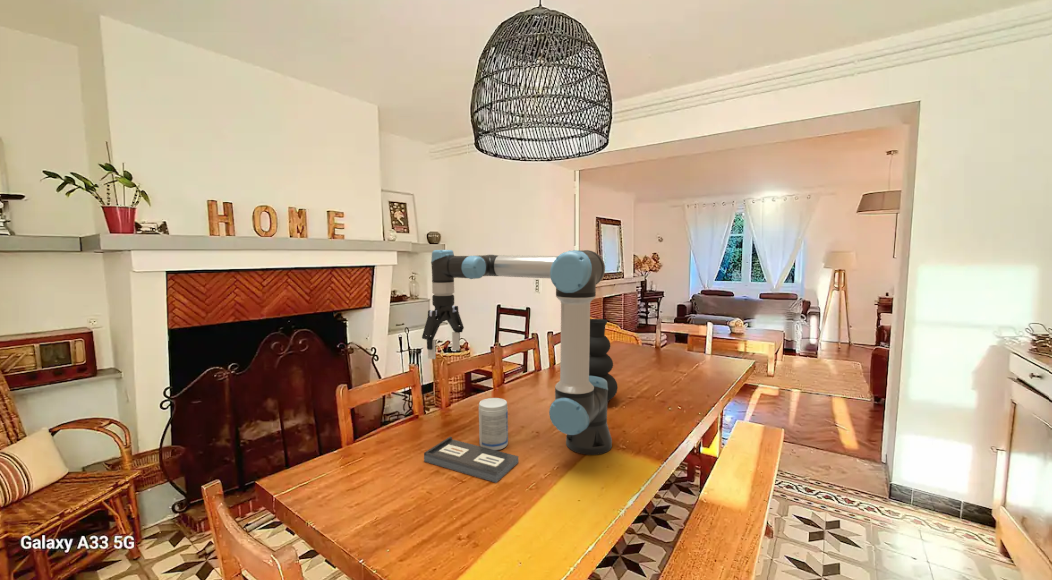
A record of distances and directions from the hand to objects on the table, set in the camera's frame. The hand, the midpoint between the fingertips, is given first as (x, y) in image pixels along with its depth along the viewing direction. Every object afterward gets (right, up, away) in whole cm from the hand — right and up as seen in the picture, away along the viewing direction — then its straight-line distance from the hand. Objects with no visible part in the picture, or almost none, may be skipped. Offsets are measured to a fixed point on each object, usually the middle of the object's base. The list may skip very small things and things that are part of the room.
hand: (444, 354), depth 154 cm
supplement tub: (+18, -29, -8) cm, 35 cm away
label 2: (+18, -29, -23) cm, 41 cm away
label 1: (+6, -28, -17) cm, 33 cm away
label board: (+12, -30, -20) cm, 38 cm away
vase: (+58, -25, +31) cm, 71 cm away
